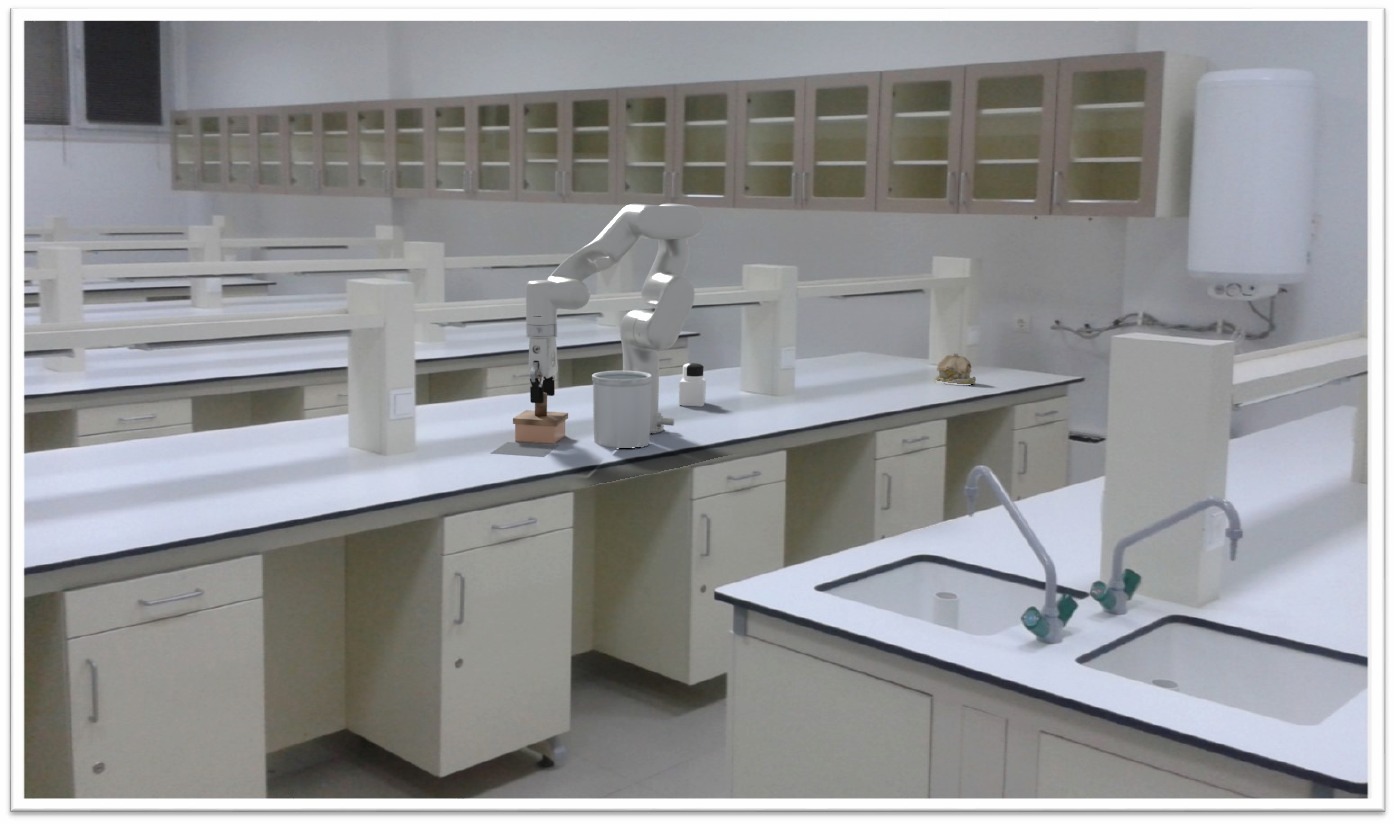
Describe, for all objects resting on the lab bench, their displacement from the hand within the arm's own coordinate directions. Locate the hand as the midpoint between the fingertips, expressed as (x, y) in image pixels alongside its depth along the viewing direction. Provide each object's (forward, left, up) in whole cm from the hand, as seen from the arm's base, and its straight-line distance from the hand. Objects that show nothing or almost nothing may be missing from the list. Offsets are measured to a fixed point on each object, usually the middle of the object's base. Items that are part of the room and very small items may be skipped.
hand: (542, 399), depth 314 cm
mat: (0, +13, -11) cm, 17 cm away
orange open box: (0, 0, -11) cm, 11 cm away
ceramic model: (-106, -129, -11) cm, 167 cm away
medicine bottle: (-28, -61, -11) cm, 68 cm away
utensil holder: (-20, -2, -11) cm, 22 cm away
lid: (0, 0, -6) cm, 6 cm away
